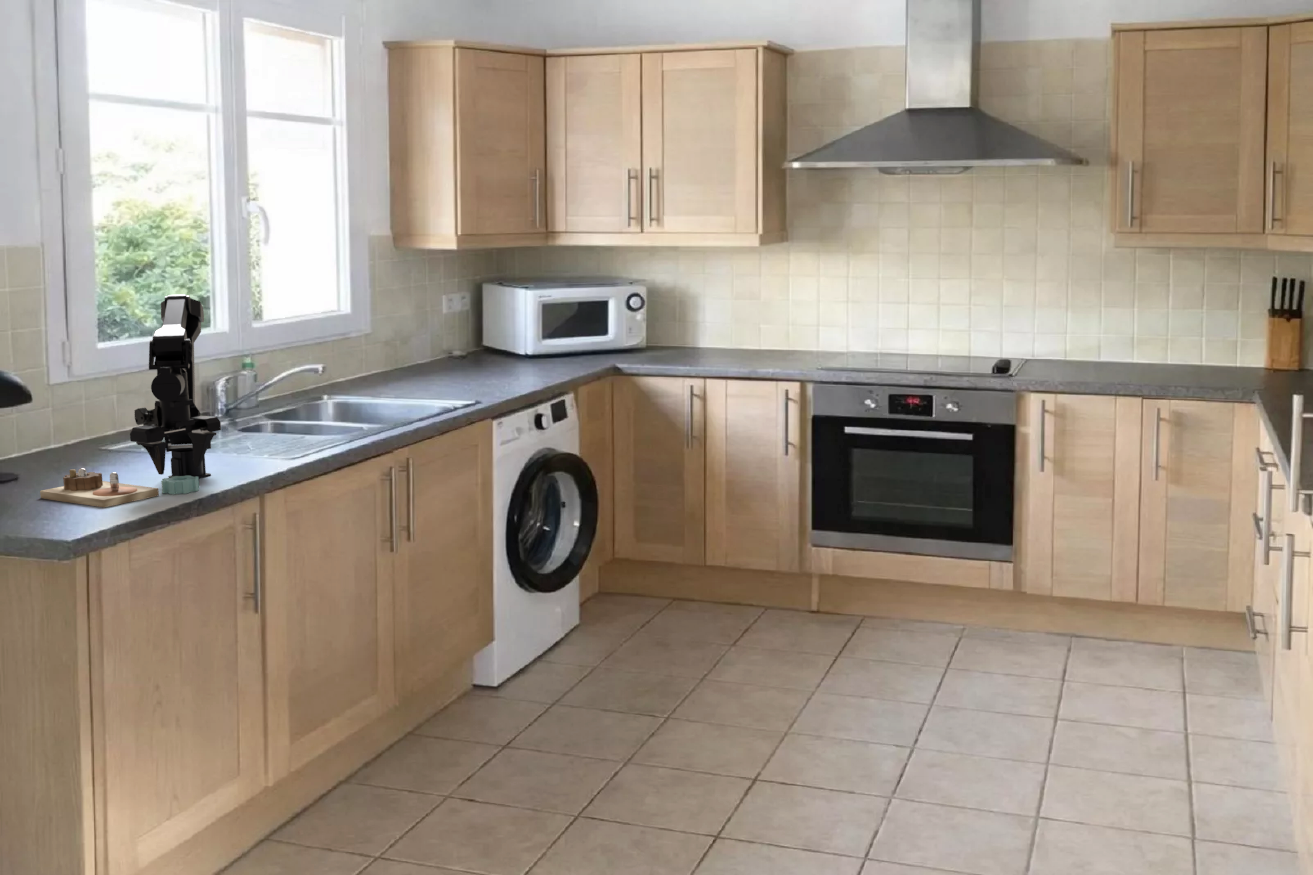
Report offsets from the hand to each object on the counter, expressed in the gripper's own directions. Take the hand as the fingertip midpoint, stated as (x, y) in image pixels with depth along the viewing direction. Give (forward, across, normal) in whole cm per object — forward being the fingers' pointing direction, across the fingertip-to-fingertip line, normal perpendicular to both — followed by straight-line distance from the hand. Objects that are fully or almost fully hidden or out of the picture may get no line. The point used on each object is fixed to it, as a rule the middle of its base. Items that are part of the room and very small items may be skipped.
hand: (179, 470), depth 295 cm
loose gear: (+4, 0, 0) cm, 4 cm away
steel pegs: (+3, +12, -10) cm, 16 cm away
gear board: (+4, +12, -10) cm, 16 cm away
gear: (+3, +12, -15) cm, 19 cm away
